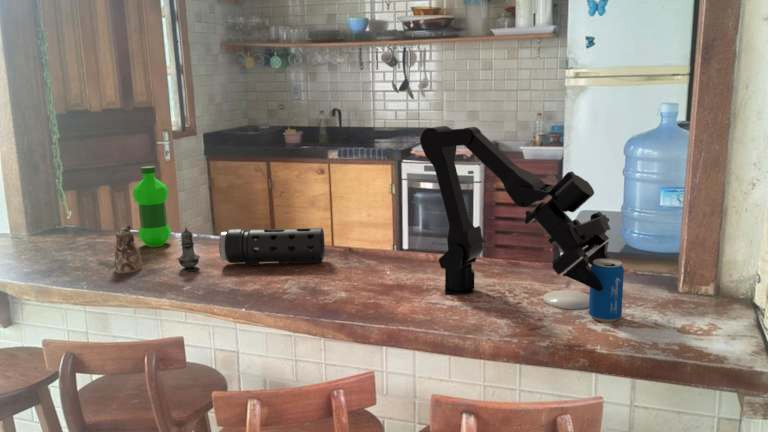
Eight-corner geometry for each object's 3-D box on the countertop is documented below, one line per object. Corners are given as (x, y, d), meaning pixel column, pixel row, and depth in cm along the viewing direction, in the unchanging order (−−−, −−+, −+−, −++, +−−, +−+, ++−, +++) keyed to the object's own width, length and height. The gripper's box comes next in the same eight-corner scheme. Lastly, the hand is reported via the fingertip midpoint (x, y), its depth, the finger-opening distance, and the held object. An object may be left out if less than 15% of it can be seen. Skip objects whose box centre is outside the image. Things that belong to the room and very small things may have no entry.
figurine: (109, 272, 182) (104, 229, 179) (126, 264, 188) (122, 223, 186) (130, 273, 180) (125, 230, 177) (147, 266, 186) (143, 225, 184)
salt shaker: (187, 274, 177) (183, 231, 175) (174, 271, 181) (170, 228, 178) (205, 269, 182) (201, 226, 179) (192, 266, 185) (188, 224, 183)
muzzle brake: (321, 268, 180) (319, 231, 178) (219, 270, 181) (216, 233, 179) (325, 258, 190) (323, 223, 187) (228, 260, 190) (225, 225, 188)
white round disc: (547, 309, 144) (547, 306, 144) (540, 292, 154) (540, 290, 154) (599, 309, 143) (599, 306, 143) (588, 292, 153) (588, 290, 153)
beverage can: (600, 325, 134) (602, 268, 131) (582, 314, 140) (584, 259, 138) (627, 321, 136) (630, 264, 133) (609, 310, 142) (611, 256, 139)
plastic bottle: (162, 249, 205) (154, 169, 200) (132, 248, 207) (123, 169, 202) (179, 241, 214) (171, 165, 209) (150, 240, 217) (142, 164, 212)
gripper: (569, 209, 128) (624, 272, 124) (600, 194, 143) (651, 250, 139) (530, 244, 134) (582, 305, 130) (564, 226, 149) (612, 280, 145)
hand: (608, 283), depth 136 cm, fingers open, 9 cm apart
